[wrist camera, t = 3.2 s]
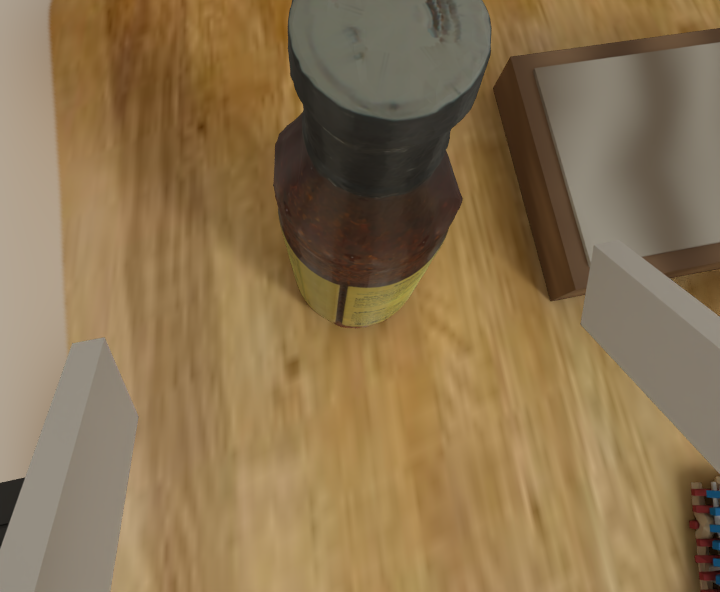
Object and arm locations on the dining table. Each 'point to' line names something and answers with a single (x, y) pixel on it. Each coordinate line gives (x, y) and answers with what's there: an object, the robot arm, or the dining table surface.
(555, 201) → the walnut plinth
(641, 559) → the dining table surface
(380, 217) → the sauce bottle
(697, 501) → the woven mat
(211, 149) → the dining table surface
